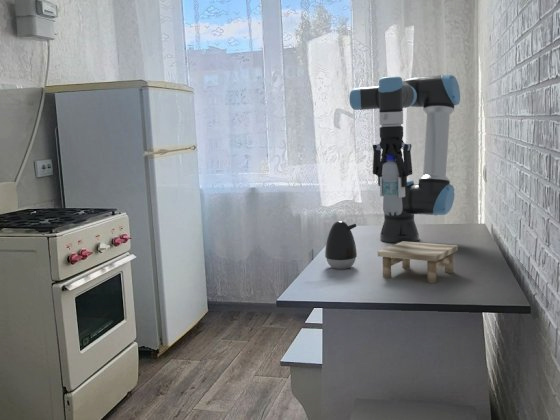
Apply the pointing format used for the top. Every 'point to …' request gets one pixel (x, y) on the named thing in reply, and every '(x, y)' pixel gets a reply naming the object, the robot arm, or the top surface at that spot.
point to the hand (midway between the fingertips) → (392, 196)
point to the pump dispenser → (341, 246)
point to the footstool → (419, 257)
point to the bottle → (391, 187)
